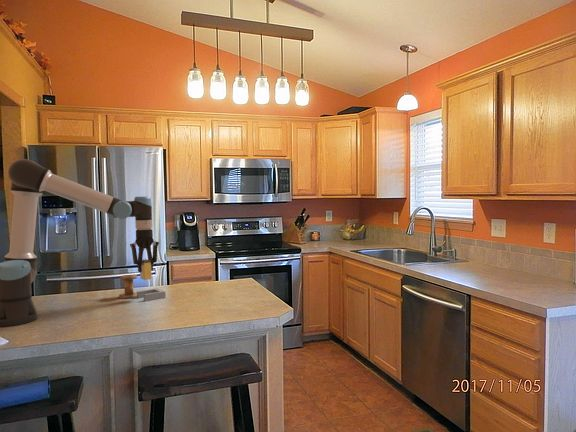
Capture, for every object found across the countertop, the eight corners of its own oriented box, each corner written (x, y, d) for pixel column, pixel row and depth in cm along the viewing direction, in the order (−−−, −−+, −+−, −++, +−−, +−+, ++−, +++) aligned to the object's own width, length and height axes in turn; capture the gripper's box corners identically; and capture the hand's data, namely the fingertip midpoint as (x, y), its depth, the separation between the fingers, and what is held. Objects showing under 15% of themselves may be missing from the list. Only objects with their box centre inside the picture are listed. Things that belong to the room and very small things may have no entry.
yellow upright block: (144, 280, 195) (144, 261, 195) (140, 278, 199) (140, 260, 199) (151, 279, 197) (150, 260, 197) (147, 277, 201) (146, 259, 201)
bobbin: (122, 299, 197) (122, 278, 196) (116, 296, 204) (115, 276, 203) (141, 296, 203) (141, 276, 202) (134, 293, 210) (134, 273, 209)
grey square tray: (145, 301, 193) (144, 294, 193) (137, 297, 201) (136, 291, 201) (165, 297, 200) (165, 291, 200) (157, 294, 207) (156, 288, 207)
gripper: (129, 230, 189) (131, 281, 190) (163, 228, 200) (165, 276, 201) (124, 229, 195) (126, 279, 196) (157, 227, 205) (158, 274, 206)
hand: (145, 278), depth 198 cm, fingers closed on yellow upright block, 3 cm apart
